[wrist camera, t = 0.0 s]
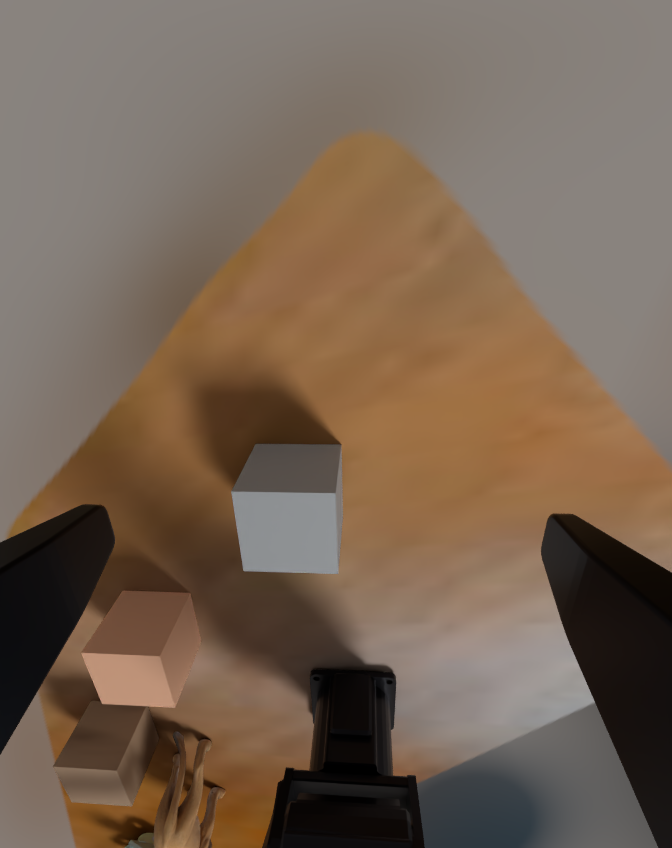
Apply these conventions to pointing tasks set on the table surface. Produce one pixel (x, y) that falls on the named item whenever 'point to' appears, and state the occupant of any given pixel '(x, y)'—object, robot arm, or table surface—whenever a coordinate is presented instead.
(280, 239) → the table surface
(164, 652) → the terracotta block
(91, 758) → the walnut block
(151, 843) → the pacifier
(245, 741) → the table surface
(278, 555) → the slate grey block
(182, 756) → the lion figurine
